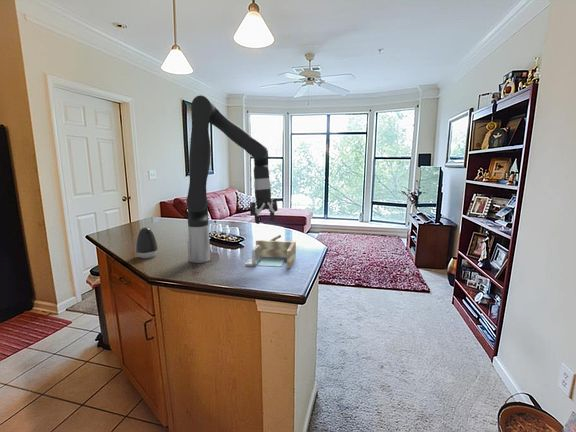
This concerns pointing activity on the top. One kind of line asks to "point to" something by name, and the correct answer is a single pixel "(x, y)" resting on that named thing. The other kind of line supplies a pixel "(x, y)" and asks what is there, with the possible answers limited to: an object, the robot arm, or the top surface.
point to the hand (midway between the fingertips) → (265, 222)
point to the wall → (275, 238)
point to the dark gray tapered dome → (146, 243)
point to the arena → (278, 250)
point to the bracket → (254, 257)
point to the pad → (271, 263)
